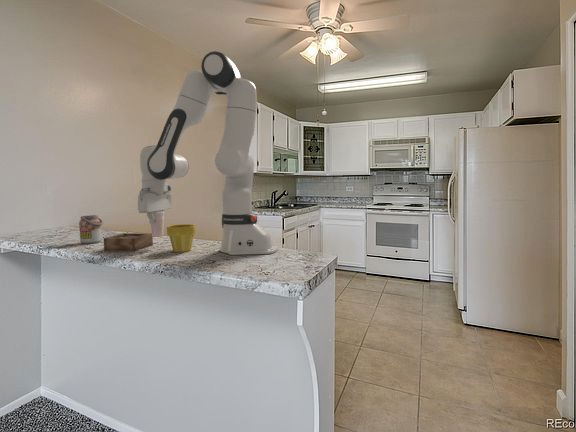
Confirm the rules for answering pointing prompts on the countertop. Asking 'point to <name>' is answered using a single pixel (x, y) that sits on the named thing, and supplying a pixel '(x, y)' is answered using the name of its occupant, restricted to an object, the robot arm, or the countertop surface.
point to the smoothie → (158, 224)
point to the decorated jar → (90, 229)
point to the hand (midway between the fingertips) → (157, 222)
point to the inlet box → (128, 242)
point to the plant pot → (181, 236)
